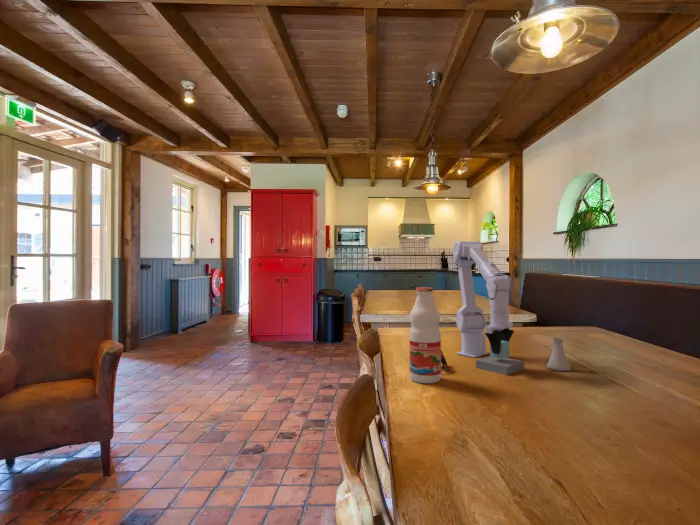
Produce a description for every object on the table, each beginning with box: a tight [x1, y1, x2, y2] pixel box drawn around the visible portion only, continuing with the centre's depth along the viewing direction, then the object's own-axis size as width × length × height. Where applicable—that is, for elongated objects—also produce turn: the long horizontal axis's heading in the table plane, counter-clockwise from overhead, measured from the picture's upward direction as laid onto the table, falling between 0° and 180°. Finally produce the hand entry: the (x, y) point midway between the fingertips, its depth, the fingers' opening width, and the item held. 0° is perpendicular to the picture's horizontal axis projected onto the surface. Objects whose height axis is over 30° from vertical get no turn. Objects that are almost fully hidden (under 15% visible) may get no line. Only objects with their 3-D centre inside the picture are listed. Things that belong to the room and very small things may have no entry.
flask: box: [546, 337, 571, 372], centre depth 124 cm, size 7×7×10 cm
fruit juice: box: [408, 286, 442, 384], centre depth 114 cm, size 9×9×28 cm
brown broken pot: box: [441, 349, 449, 373], centre depth 126 cm, size 12×10×8 cm
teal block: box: [489, 340, 511, 359], centre depth 125 cm, size 4×4×5 cm
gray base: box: [475, 355, 525, 376], centre depth 125 cm, size 11×11×3 cm
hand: (499, 352), depth 125 cm, fingers closed on teal block, 4 cm apart
